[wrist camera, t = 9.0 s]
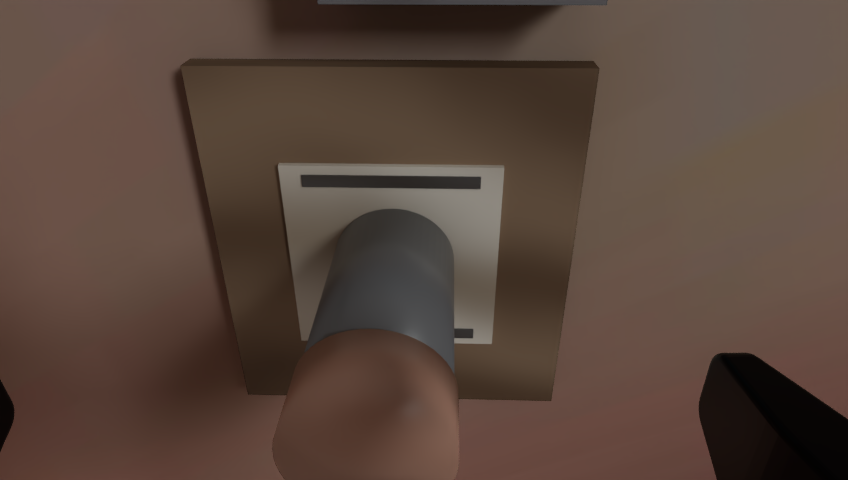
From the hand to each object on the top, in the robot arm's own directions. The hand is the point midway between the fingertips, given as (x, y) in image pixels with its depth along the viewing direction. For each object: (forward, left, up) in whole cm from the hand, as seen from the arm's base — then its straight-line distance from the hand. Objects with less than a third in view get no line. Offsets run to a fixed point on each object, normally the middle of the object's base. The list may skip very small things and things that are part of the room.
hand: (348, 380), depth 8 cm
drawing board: (-6, 0, -13) cm, 14 cm away
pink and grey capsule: (-6, 0, -12) cm, 13 cm away
